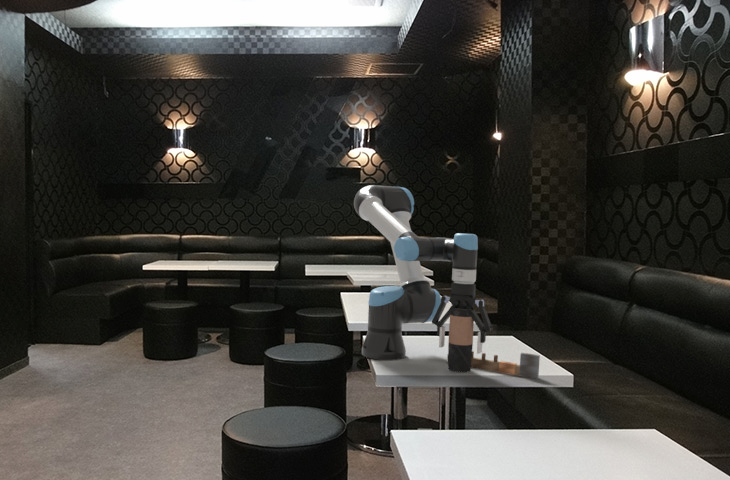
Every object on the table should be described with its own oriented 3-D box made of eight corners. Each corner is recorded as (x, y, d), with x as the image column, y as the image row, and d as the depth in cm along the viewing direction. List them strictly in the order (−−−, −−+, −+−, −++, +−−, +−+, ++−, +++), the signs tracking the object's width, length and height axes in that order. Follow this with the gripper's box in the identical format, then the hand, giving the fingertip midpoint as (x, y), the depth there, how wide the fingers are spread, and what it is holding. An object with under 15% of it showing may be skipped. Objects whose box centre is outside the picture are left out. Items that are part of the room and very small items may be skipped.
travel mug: (470, 373, 187) (474, 310, 186) (446, 371, 189) (449, 308, 188) (471, 367, 195) (474, 306, 194) (447, 365, 196) (451, 304, 196)
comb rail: (446, 363, 199) (448, 342, 199) (449, 362, 201) (450, 341, 200) (537, 378, 185) (538, 356, 184) (538, 377, 186) (539, 355, 186)
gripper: (423, 279, 193) (420, 346, 194) (497, 287, 181) (493, 357, 182) (432, 277, 200) (429, 342, 201) (504, 285, 188) (500, 353, 189)
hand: (460, 349), depth 192 cm, fingers open, 12 cm apart
